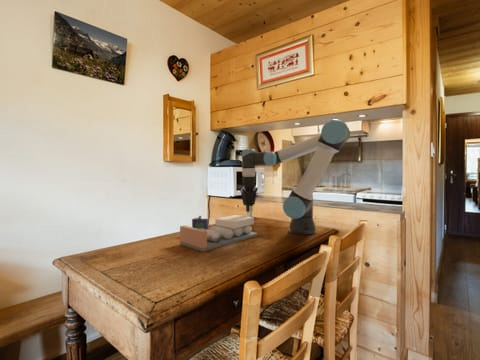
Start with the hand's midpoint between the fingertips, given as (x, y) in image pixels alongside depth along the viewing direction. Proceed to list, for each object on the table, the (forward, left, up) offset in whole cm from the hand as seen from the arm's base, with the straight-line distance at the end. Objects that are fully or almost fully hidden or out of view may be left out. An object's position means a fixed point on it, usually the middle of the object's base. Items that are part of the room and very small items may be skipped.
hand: (249, 216), depth 156 cm
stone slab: (0, +12, -3) cm, 12 cm away
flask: (+18, +22, -9) cm, 30 cm away
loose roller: (0, +30, -7) cm, 31 cm away
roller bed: (0, +21, -9) cm, 23 cm away
